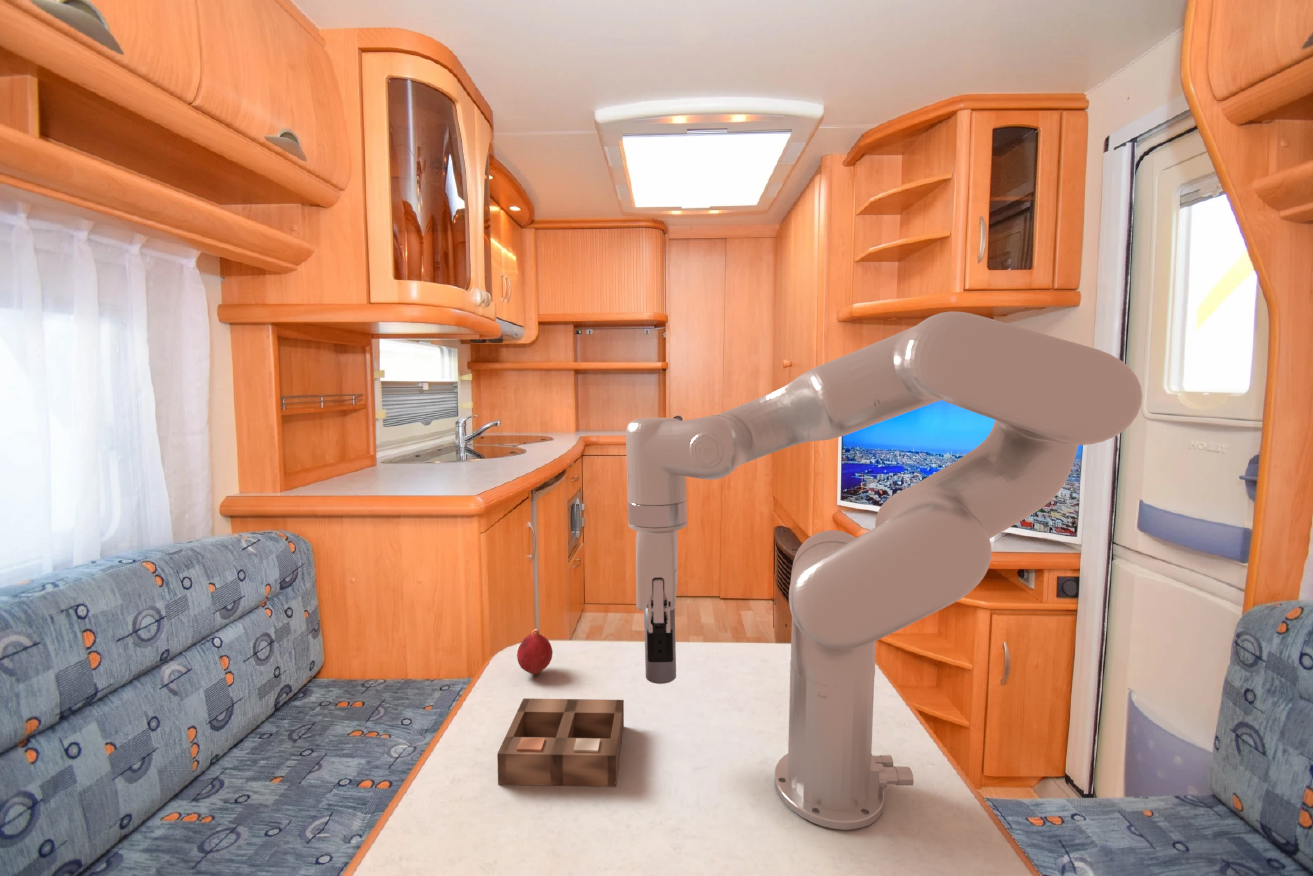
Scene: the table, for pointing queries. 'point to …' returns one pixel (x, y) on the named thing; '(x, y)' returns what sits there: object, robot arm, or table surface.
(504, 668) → the table surface
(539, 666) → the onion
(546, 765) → the socket block
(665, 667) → the plug
